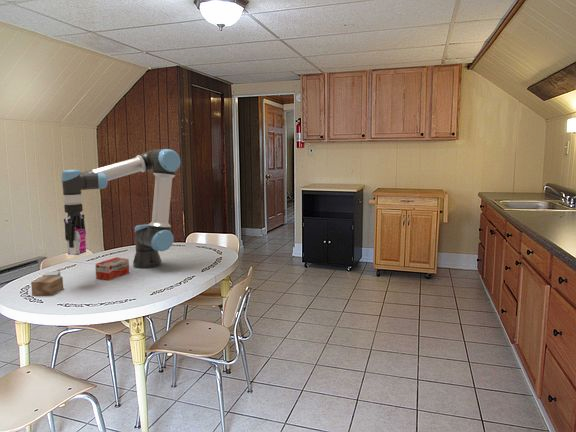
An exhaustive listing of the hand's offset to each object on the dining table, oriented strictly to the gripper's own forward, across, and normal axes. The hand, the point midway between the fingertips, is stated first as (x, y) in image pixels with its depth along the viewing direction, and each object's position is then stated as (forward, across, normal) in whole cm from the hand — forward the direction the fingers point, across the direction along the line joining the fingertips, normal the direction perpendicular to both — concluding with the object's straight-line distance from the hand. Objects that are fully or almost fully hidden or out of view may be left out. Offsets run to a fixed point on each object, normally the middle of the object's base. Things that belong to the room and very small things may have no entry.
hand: (77, 252), depth 203 cm
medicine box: (+17, -17, +8) cm, 25 cm away
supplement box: (+1, 0, 0) cm, 1 cm away
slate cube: (+16, 0, -13) cm, 21 cm away
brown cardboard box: (+16, +10, -9) cm, 21 cm away
